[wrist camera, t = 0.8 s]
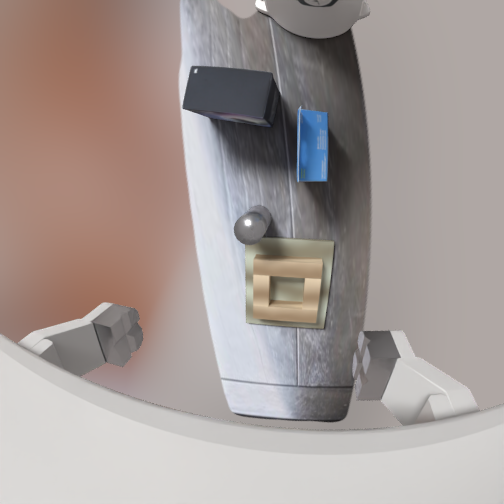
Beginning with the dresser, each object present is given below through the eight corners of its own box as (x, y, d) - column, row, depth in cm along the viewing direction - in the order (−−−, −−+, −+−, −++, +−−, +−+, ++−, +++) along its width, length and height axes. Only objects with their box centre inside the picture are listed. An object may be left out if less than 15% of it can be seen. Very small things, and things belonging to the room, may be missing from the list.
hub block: (246, 235, 45) (241, 241, 42) (333, 240, 42) (336, 246, 39) (246, 320, 50) (243, 330, 47) (323, 326, 48) (324, 336, 45)
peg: (246, 204, 43) (233, 214, 36) (271, 205, 43) (264, 215, 35) (246, 229, 44) (234, 244, 37) (271, 230, 44) (264, 245, 36)
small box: (207, 120, 40) (179, 110, 30) (214, 82, 38) (189, 63, 28) (272, 130, 39) (262, 120, 29) (280, 90, 36) (273, 70, 27)
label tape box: (324, 178, 40) (333, 185, 28) (298, 177, 40) (296, 183, 29) (325, 121, 37) (334, 106, 25) (298, 120, 38) (296, 104, 26)
